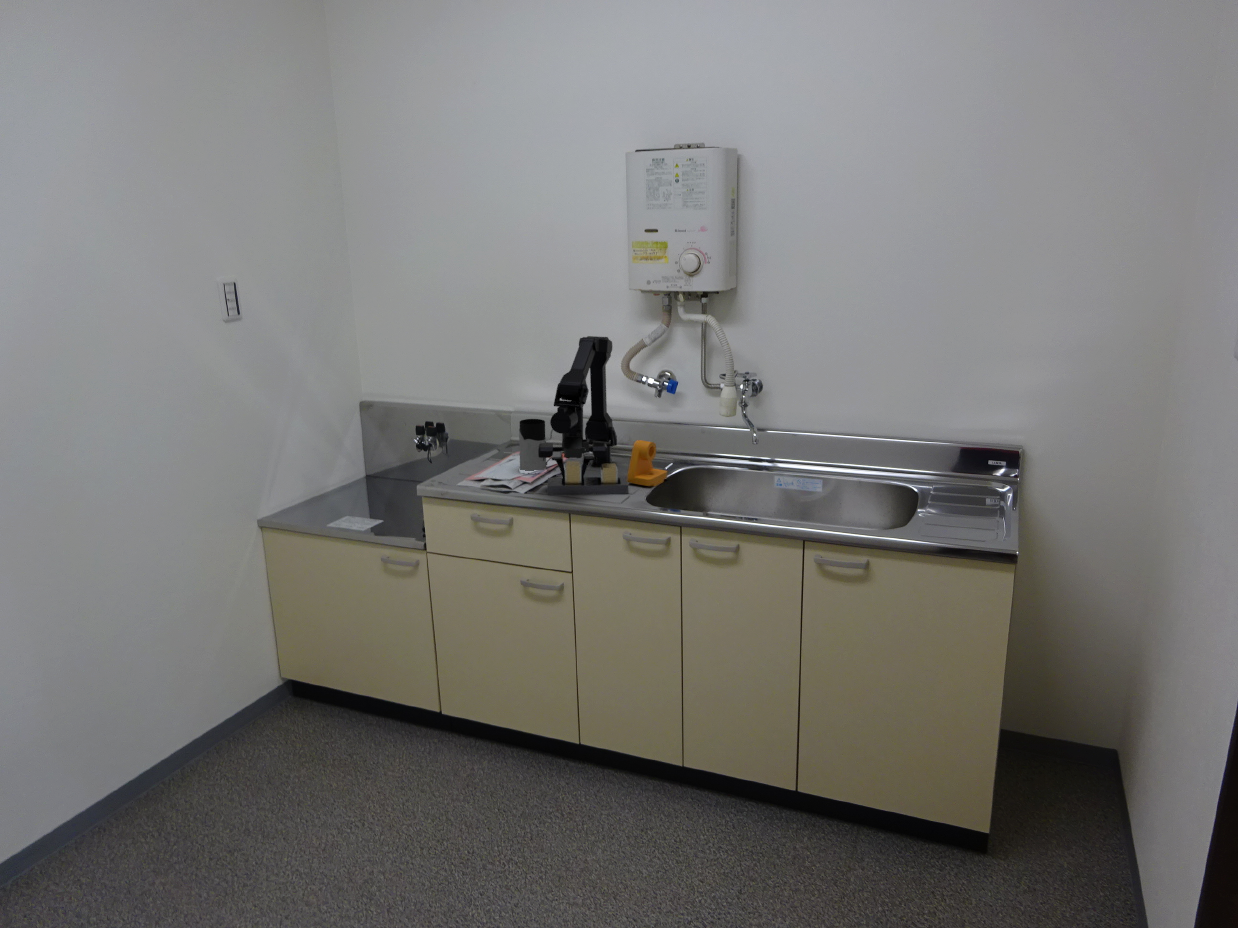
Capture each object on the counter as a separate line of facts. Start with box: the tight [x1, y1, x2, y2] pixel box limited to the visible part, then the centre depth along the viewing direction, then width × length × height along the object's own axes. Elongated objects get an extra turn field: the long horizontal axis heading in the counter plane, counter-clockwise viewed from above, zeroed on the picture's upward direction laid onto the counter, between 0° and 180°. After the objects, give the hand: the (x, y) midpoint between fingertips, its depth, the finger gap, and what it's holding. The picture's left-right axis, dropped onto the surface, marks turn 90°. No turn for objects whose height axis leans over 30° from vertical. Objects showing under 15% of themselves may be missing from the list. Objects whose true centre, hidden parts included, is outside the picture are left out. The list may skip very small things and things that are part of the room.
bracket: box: [626, 439, 668, 487], centre depth 249 cm, size 11×7×12 cm
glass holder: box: [518, 418, 554, 471], centre depth 259 cm, size 9×14×15 cm, turn 87°
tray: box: [546, 476, 629, 496], centre depth 242 cm, size 8×22×2 cm, turn 93°
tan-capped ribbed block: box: [600, 463, 619, 485], centre depth 242 cm, size 4×4×7 cm
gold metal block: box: [564, 460, 582, 485], centre depth 241 cm, size 4×4×7 cm
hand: (573, 480), depth 241 cm, fingers closed on gold metal block, 4 cm apart
